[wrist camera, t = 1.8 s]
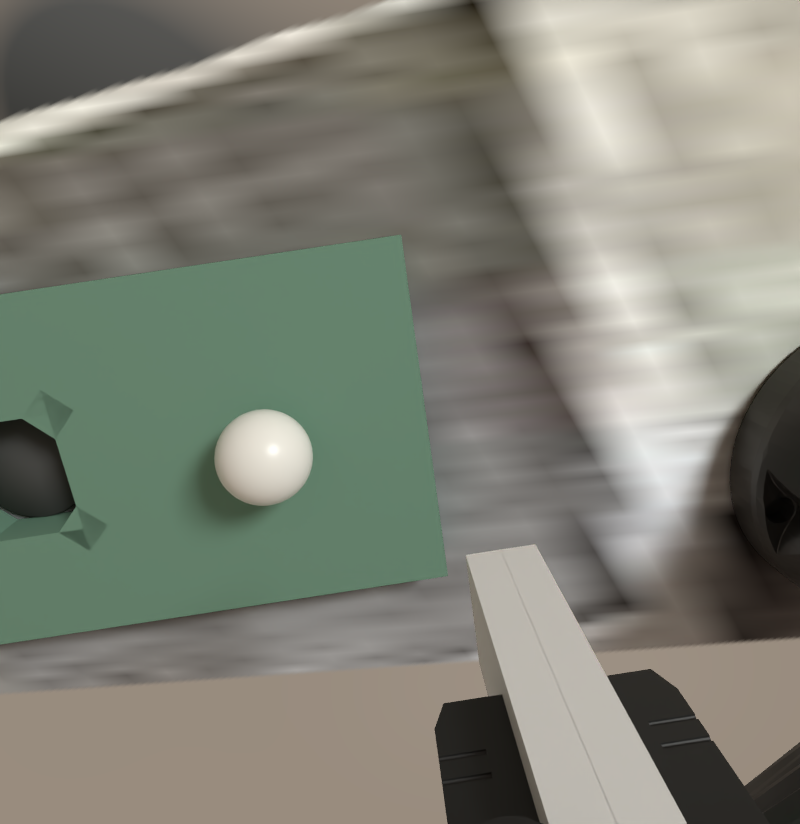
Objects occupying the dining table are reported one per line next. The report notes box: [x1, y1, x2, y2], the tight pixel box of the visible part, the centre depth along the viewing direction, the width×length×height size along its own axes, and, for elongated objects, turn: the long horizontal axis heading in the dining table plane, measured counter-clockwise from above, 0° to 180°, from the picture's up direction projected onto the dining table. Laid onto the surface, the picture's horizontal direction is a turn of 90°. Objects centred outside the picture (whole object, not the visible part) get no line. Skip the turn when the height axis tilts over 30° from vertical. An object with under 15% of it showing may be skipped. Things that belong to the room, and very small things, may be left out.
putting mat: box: [0, 235, 448, 645], centre depth 29 cm, size 26×16×2 cm, turn 98°
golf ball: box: [214, 409, 313, 506], centre depth 26 cm, size 4×4×4 cm
